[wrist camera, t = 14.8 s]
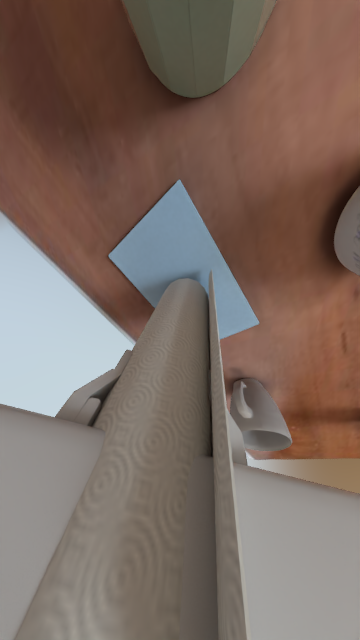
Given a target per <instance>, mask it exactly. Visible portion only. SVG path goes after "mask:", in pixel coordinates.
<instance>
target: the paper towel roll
mask: <svg viewBox="0 0 360 640" xmlns="http://www.w3.org/2000/svg"><path fill="white" fill-rule="evenodd" d="M208 288H209V298H208V294H207V292H206V290H205V288H204V287H203V286H202V285H201V284H200V283H199V282H197V281H195V280H192V279H189V278H185V279H178V280H176V281H174V282H172V283H171V284H170V285H169V286H168V287H167V289H166V290H165V292H164V294H163V295H162V297H161V299H160V301H159V303H158V304H157V306H156V308H155V310H154V312H153V314H152V315H151V317H150V319H149V321H148V323H147V324H146V326H145V328H144V330H143V332H142V333H141V335H140V337H139V339H138V341H137V342H136V344H135V346H134V348H133V350H132V351H134V352H133V354H132V356H131V357H130V360H129V361H128V363H127V365H126V367H125V369H124V371H123V373H122V375H121V376H120V377H119V379H118V380H117V382H116V383H115V385H114V386H113V388H112V389H111V390H110V392H109V393H108V395H107V397H106V398H105V400H104V402H103V404H102V406H101V407H102V408H101V410H100V412H99V414H98V416H97V417H96V419H95V421H94V423H93V425H92V427H95V428H99V429H102V430H104V431H105V439H104V443H103V446H102V449H101V453H100V456H99V458H98V460H97V462H96V465H95V467H94V469H93V471H92V473H91V476H90V478H89V480H88V482H87V484H86V486H85V489H84V491H83V493H82V495H81V497H80V500H79V502H78V504H77V506H76V508H75V510H74V513H73V515H72V517H71V519H70V521H69V524H68V526H67V528H66V530H65V532H64V534H63V537H62V539H61V541H60V543H59V545H58V548H57V550H56V552H55V554H54V556H53V558H52V561H51V563H50V565H49V567H48V569H47V572H46V574H45V576H44V578H43V580H42V582H41V585H40V587H39V589H38V591H37V593H36V596H35V598H34V600H33V602H32V604H31V606H30V609H29V611H28V613H27V615H26V617H25V620H24V622H23V624H22V626H21V628H20V630H19V633H18V635H17V637H16V639H15V640H179V632H180V613H181V594H182V575H183V556H184V537H185V518H186V498H187V479H188V475H189V472H190V469H191V466H192V463H193V460H194V458H195V457H197V456H199V455H200V454H203V455H207V456H211V433H212V432H213V461H214V496H215V531H216V566H217V600H218V635H219V640H252V639H251V629H250V620H249V610H248V601H247V592H246V582H245V573H244V564H243V554H242V545H241V535H240V526H239V517H238V507H237V498H236V489H235V479H234V470H233V460H232V451H231V442H230V432H229V423H228V414H227V404H226V395H225V385H224V376H223V367H222V357H221V348H220V339H219V329H218V320H217V310H216V301H215V292H214V282H213V273H212V269H211V271H210V274H209V281H208ZM209 370H211V392H212V421H211V420H210V402H209V398H208V371H209Z"/></svg>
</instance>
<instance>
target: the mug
mask: <svg viewBox="0 0 360 640" xmlns="http://www.w3.org/2000/svg"><path fill="white" fill-rule="evenodd" d="M230 415H231V416H232V418H233V420H234V421H235V423H236V424H237V426H238V428H239V429H240V431H241V433H242V435H243V441H244V447H245V448H248V449H252V450H259V451H277V450H282V449H285V448H287V447H289V446H290V445H291V443H292V439H291V436H290V433H289V430H288V428H287V425H286V423H285V421H284V418H283V416H282V414H281V412H280V410H279V408H278V407H277V405H276V403H275V402H274V400H273V399H272V397H271V396H270V394H269V393H268V392H267V391H266V390H265V389H264V388H263V386H262V385H261V383H260V382H259V381H257V380H255V379H250V378H246V379H241V380H239V381H236V382H235V383H234V385H233V394H232V398H231V405H230Z"/></svg>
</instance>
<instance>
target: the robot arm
mask: <svg viewBox="0 0 360 640" xmlns="http://www.w3.org/2000/svg"><path fill="white" fill-rule="evenodd" d="M133 352H134V351H130V350H126V351H125V353H124V355H123V356H122V358H121V359H120V361H119V363H118V364H117V366H116V368H115V369H111V370H110V371H108V372H106V373H105V374H103V375H101V376H100V377H98V378H96V379H95V380H93V381H91V382H89V383H88V384H86V385H84V386H83V387H81V388H79V389H78V390H76V391H74V393H73V394H72V395H71V396H70V398H69V399H68V400H67V402H66V403H65V404H64V406H63V407H62V408H61V409H60V411H59V412H58V414H57V415H56V416H55V417H51V416H47V415H43V414H39V413H35V412H31V411H27V410H23V409H19V408H15V407H11V406H7V405H3V404H0V640H15V639H16V637H17V635H18V633H19V630H20V628H21V626H22V624H23V622H24V620H25V617H26V615H27V613H28V611H29V609H30V606H31V604H32V602H33V600H34V598H35V596H36V593H37V591H38V589H39V587H40V585H41V582H42V580H43V578H44V576H45V574H46V572H47V569H48V567H49V565H50V563H51V561H52V558H53V556H54V554H55V552H56V550H57V548H58V545H59V543H60V541H61V539H62V537H63V534H64V532H65V530H66V528H67V526H68V524H69V521H70V519H71V517H72V515H73V513H74V510H75V508H76V506H77V504H78V502H79V500H80V497H81V495H82V493H83V491H84V489H85V486H86V484H87V482H88V480H89V478H90V476H91V473H92V471H93V469H94V467H95V465H96V462H97V460H98V458H99V456H100V453H101V449H102V446H103V443H104V439H105V431H104V430H102V429H99V428H95V427H92V425H93V423H94V421H95V419H96V417H97V416H98V414H99V412H100V410H101V408H102V407H101V406H102V404H103V402H104V400H105V398H106V397H107V395H108V393H109V392H110V390H111V389H112V388H113V386H114V385H115V383H116V382H117V380H118V379H119V377H120V376H121V375H122V373H123V371H124V369H125V367H126V365H127V363H128V361H129V360H130V357H131V356H132V354H133ZM208 398H209V402H210V420H211V421H212V392H211V370H209V371H208ZM227 414H228V423H229V432H230V442H231V451H232V460H233V470H234V479H235V489H236V498H237V507H238V517H239V526H240V535H241V545H242V554H243V564H244V573H245V582H246V592H247V601H248V610H249V620H250V629H251V639H252V640H360V494H358V493H354V492H350V491H346V490H342V489H338V488H334V487H330V486H326V485H322V484H318V483H314V482H310V481H306V480H302V479H298V478H294V477H290V476H286V475H282V474H278V473H274V472H270V471H266V470H262V469H259V468H254V467H251V466H248V465H247V459H246V453H245V447H244V441H243V435H242V433H241V431H240V429H239V428H238V426H237V424H236V423H235V421H234V420H233V418H232V416H231V415H230V413H229V411H228V410H227ZM179 640H219V635H218V600H217V566H216V531H215V496H214V461H213V432H212V433H211V456H207V455H203V454H200V455H199V456H197V457H195V458H194V460H193V463H192V466H191V469H190V472H189V475H188V479H187V498H186V518H185V537H184V556H183V575H182V594H181V613H180V632H179Z"/></svg>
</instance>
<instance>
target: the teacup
mask: <svg viewBox="0 0 360 640" xmlns="http://www.w3.org/2000/svg"><path fill="white" fill-rule="evenodd" d="M334 247H335V252H336V255H337V257H338V259H339V261H340V262H341V263H342V264H343V265H344V266H345V267H346V268H347V269H349V270H350V271H352V272H354V273H356V274H358V275H360V186H359V187H358V189H357V190H356V191H355V192H354V194H353V195H352V197H351V198H350V200H349V201H348V203H347V204H346V206H345V208H344V210H343V212H342V214H341V216H340V218H339V220H338V223H337V227H336V230H335V236H334Z"/></svg>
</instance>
